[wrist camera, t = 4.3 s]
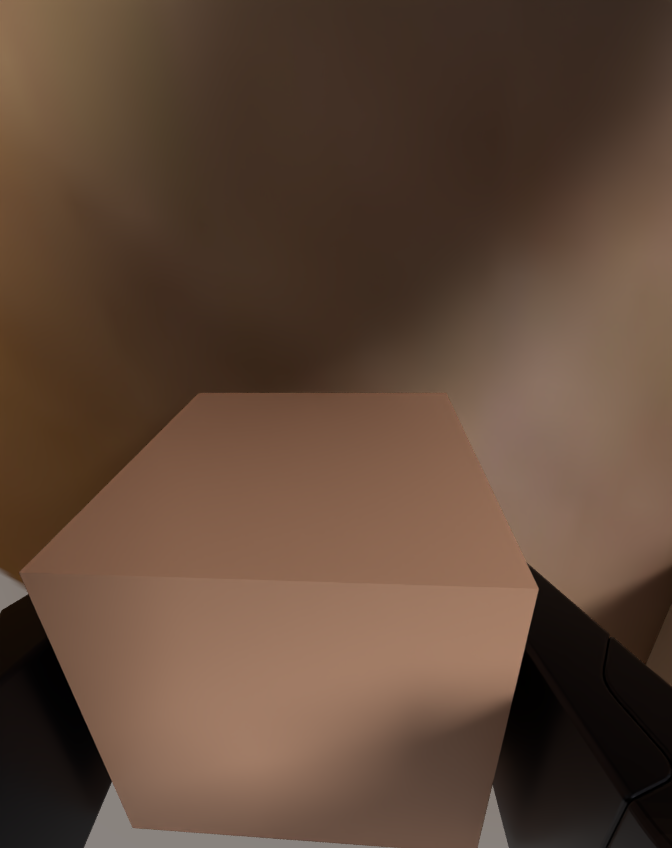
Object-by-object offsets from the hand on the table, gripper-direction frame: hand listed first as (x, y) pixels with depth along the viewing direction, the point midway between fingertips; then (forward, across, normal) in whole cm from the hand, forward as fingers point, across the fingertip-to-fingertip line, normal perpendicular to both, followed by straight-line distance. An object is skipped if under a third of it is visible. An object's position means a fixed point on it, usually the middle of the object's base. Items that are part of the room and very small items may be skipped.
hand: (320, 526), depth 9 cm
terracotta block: (+1, 0, 0) cm, 1 cm away
